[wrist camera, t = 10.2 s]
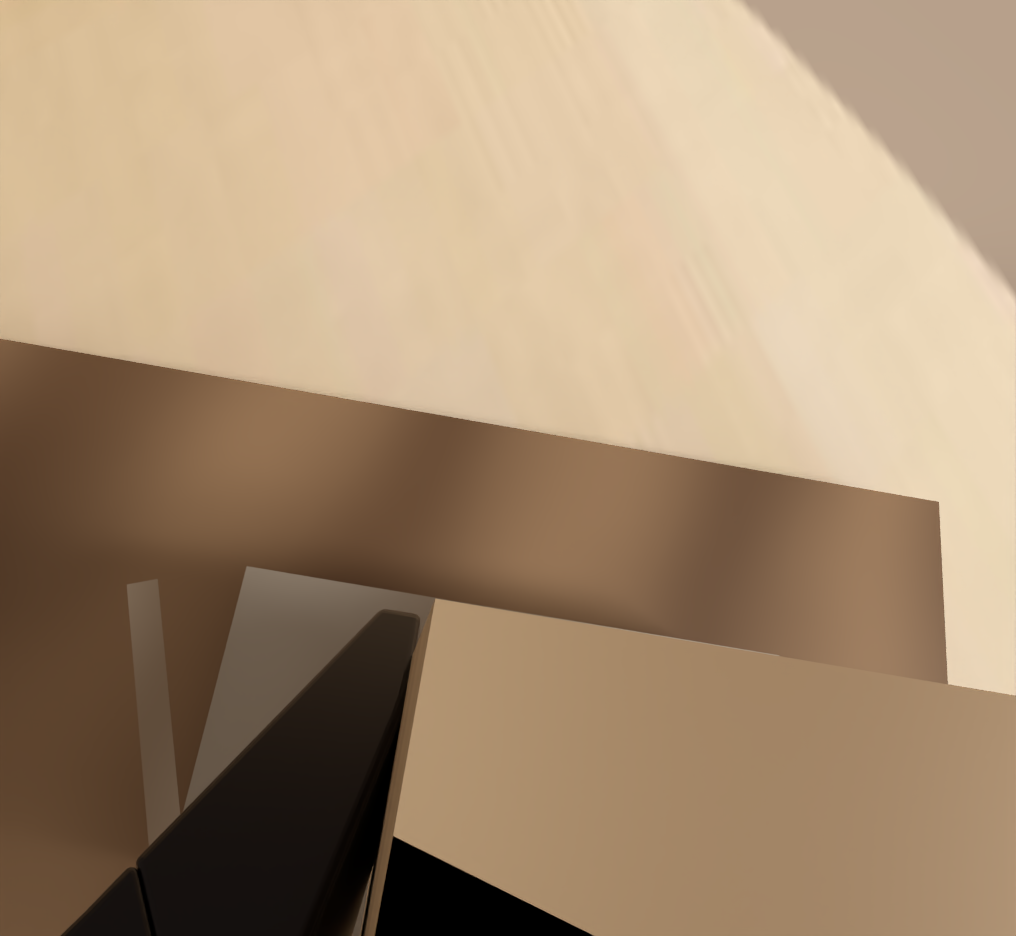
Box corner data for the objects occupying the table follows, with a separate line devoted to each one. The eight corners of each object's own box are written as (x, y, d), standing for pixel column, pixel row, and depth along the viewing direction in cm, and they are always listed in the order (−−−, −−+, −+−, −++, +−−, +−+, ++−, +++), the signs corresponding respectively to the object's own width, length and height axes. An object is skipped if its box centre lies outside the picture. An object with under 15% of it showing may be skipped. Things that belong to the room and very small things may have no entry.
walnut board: (892, 517, 17) (938, 501, 15) (911, 1169, 13) (974, 1229, 12) (-141, 341, 14) (-200, 304, 13) (-460, 1061, 11) (-591, 1117, 9)
